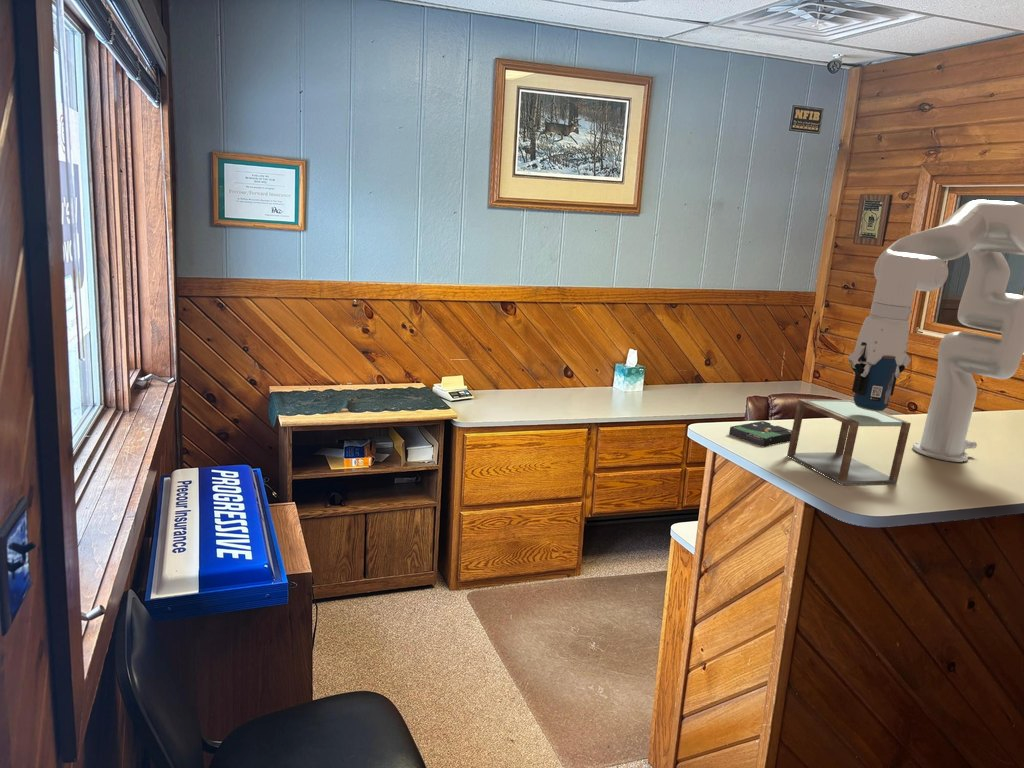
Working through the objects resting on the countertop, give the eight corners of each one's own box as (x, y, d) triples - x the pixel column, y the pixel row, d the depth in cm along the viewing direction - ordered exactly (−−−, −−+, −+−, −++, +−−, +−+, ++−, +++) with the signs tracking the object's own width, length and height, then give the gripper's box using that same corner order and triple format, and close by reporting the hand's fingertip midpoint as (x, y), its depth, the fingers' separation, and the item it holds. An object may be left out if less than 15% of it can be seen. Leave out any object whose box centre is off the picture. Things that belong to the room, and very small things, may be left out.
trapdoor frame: (787, 456, 180) (798, 399, 176) (838, 455, 184) (850, 400, 181) (841, 485, 163) (854, 422, 160) (896, 483, 168) (910, 423, 164)
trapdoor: (807, 405, 176) (808, 401, 175) (849, 405, 179) (849, 401, 179) (857, 426, 161) (858, 421, 161) (901, 426, 165) (902, 422, 165)
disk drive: (760, 430, 202) (727, 436, 193) (762, 420, 201) (729, 425, 192) (795, 442, 194) (763, 448, 185) (797, 431, 194) (765, 437, 184)
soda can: (850, 401, 170) (861, 349, 167) (883, 406, 168) (895, 353, 165) (854, 408, 163) (866, 354, 161) (889, 414, 162) (902, 359, 159)
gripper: (907, 311, 167) (890, 389, 171) (844, 307, 162) (827, 388, 166) (935, 317, 160) (916, 399, 164) (870, 313, 155) (852, 398, 159)
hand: (872, 393), depth 165 cm, fingers closed on soda can, 6 cm apart
